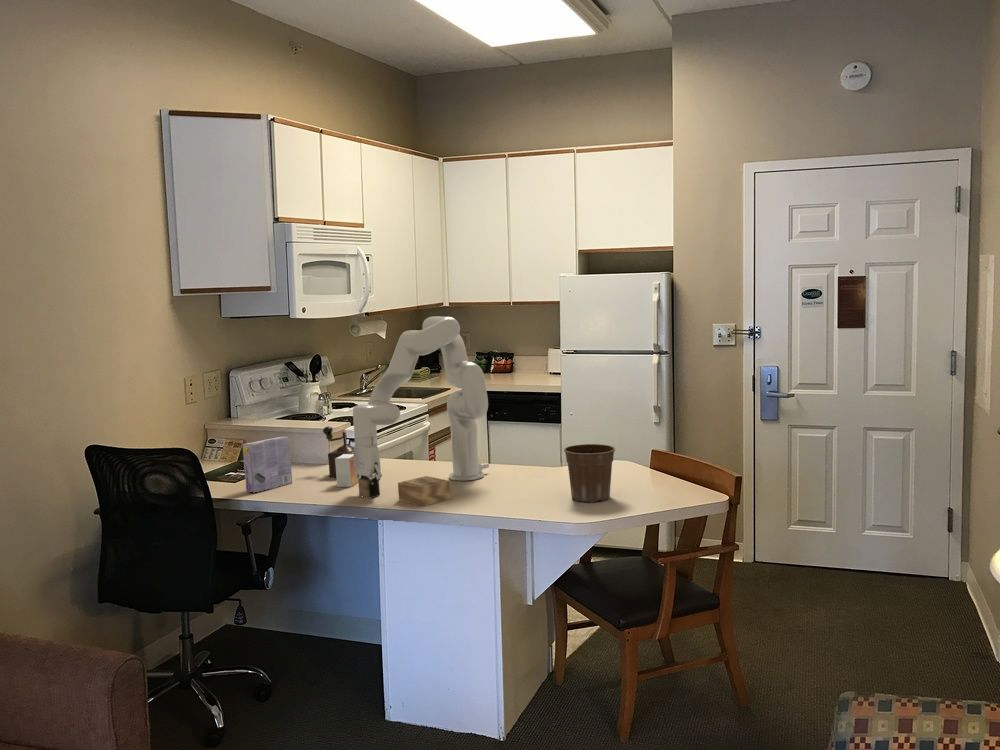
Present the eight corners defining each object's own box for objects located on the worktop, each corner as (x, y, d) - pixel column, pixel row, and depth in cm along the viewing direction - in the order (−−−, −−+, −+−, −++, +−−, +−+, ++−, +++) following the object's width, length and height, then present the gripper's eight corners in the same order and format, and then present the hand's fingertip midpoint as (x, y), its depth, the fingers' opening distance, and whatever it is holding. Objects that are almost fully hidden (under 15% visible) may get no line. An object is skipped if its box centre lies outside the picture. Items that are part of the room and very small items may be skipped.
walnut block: (371, 493, 313) (370, 476, 312) (380, 495, 309) (378, 478, 308) (359, 496, 309) (358, 478, 309) (367, 498, 306) (366, 480, 305)
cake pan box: (286, 481, 338) (282, 434, 337) (295, 482, 336) (292, 435, 334) (244, 493, 323) (240, 443, 321) (254, 494, 320) (250, 444, 318)
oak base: (427, 493, 308) (426, 475, 307) (450, 498, 299) (449, 479, 298) (398, 500, 300) (397, 481, 299) (421, 506, 291) (419, 486, 290)
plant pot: (619, 492, 297) (617, 443, 295) (614, 504, 281) (612, 453, 279) (570, 491, 300) (567, 443, 298) (562, 504, 285) (560, 453, 283)
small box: (351, 487, 323) (349, 458, 322) (336, 487, 325) (334, 458, 323) (359, 482, 331) (357, 453, 330) (344, 482, 332) (342, 453, 331)
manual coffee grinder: (366, 471, 349) (362, 425, 347) (354, 477, 339) (351, 430, 337) (328, 471, 353) (325, 425, 351) (316, 477, 342) (312, 430, 340)
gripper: (342, 440, 311) (346, 492, 313) (371, 445, 298) (374, 500, 300) (361, 437, 316) (364, 488, 318) (389, 442, 303) (393, 495, 305)
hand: (369, 493), depth 309 cm, fingers closed on walnut block, 5 cm apart
